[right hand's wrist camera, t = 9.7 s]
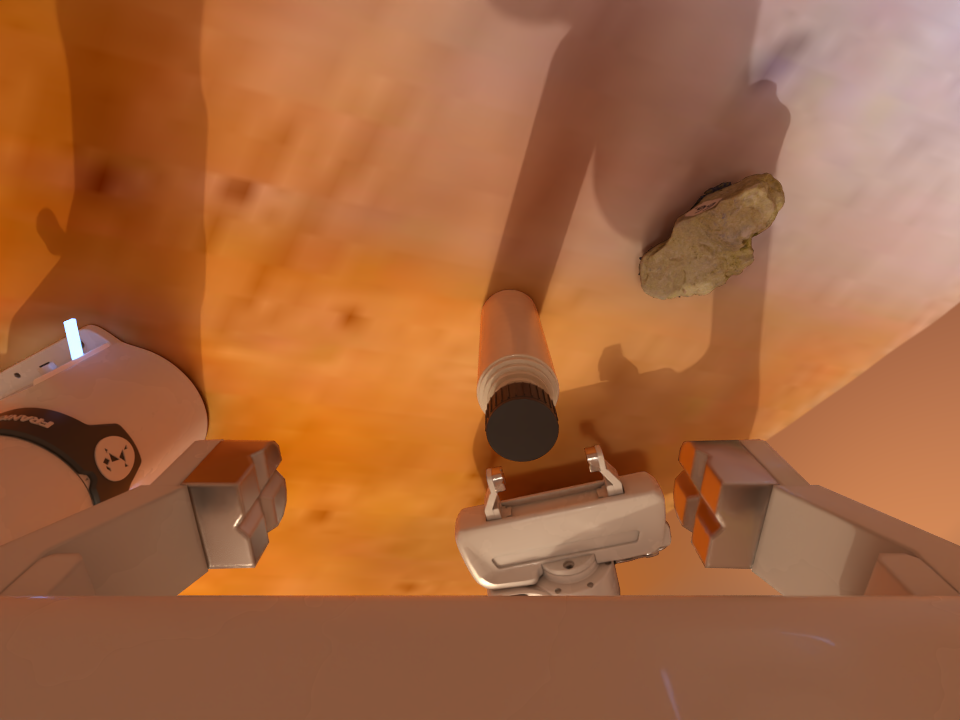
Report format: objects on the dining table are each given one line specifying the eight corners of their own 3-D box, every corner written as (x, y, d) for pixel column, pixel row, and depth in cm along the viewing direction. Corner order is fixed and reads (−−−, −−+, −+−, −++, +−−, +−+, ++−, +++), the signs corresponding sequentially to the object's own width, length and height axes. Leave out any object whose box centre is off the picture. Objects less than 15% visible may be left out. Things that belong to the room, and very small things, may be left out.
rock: (631, 291, 48) (745, 298, 46) (638, 309, 42) (769, 318, 40) (648, 169, 44) (773, 172, 42) (658, 170, 38) (804, 174, 36)
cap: (476, 431, 31) (475, 451, 29) (498, 372, 30) (498, 389, 28) (540, 449, 32) (544, 470, 30) (565, 392, 30) (570, 410, 28)
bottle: (473, 334, 49) (463, 453, 30) (490, 281, 47) (491, 373, 28) (526, 350, 49) (549, 477, 30) (546, 299, 47) (583, 400, 28)
